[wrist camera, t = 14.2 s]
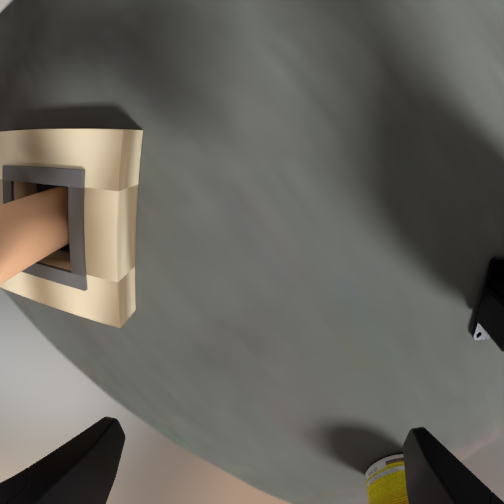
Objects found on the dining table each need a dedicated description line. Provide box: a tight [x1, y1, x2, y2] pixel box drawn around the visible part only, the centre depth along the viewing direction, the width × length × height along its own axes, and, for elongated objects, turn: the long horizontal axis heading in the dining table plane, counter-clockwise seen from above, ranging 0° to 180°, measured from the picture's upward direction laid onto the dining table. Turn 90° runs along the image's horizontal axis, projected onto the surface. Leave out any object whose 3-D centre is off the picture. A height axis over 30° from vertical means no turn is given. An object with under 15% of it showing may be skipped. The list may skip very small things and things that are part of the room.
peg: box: [0, 186, 69, 285], centre depth 14 cm, size 4×4×12 cm
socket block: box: [0, 128, 143, 328], centre depth 18 cm, size 12×12×3 cm
